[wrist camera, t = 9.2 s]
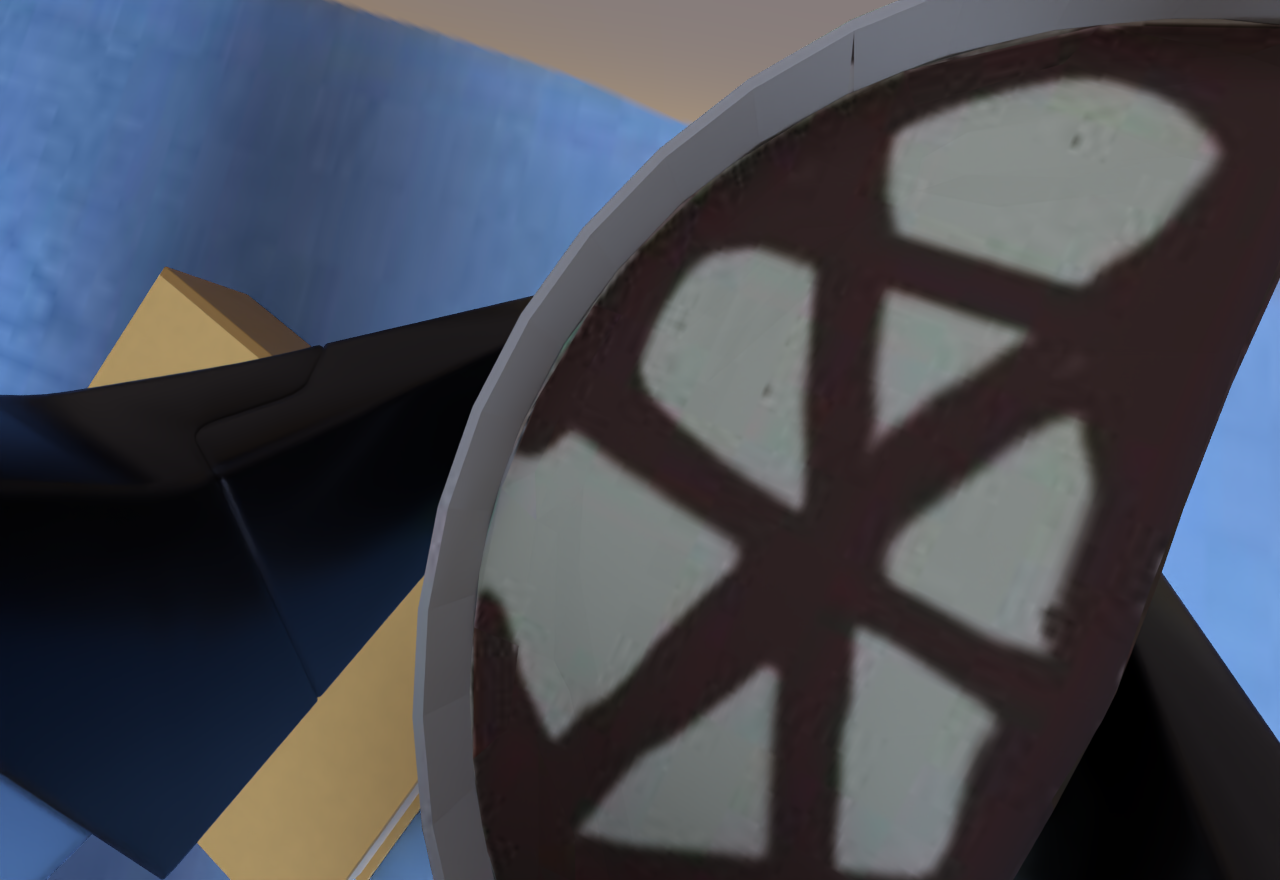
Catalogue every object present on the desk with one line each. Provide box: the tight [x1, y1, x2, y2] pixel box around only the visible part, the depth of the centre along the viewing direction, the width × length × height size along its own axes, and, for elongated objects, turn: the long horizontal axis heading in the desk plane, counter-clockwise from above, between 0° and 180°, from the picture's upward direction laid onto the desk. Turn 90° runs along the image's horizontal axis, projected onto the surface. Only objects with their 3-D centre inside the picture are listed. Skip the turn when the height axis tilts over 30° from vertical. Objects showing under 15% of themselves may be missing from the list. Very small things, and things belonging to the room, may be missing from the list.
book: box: [88, 267, 425, 880], centre depth 23 cm, size 17×13×4 cm
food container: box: [412, 0, 1280, 880], centre depth 10 cm, size 12×6×10 cm, turn 156°
